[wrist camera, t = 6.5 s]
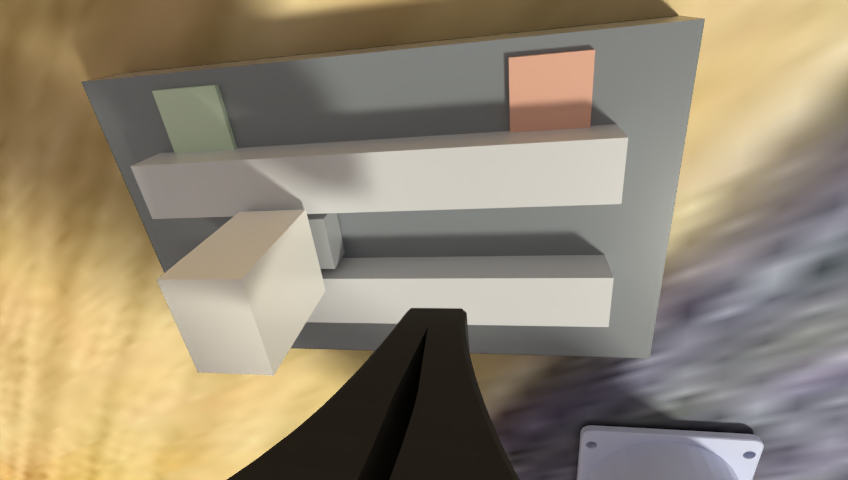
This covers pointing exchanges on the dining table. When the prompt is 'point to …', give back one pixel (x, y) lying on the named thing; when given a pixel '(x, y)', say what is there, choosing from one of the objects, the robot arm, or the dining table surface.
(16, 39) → the dining table surface
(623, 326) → the panel
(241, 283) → the lever
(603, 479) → the robot arm
